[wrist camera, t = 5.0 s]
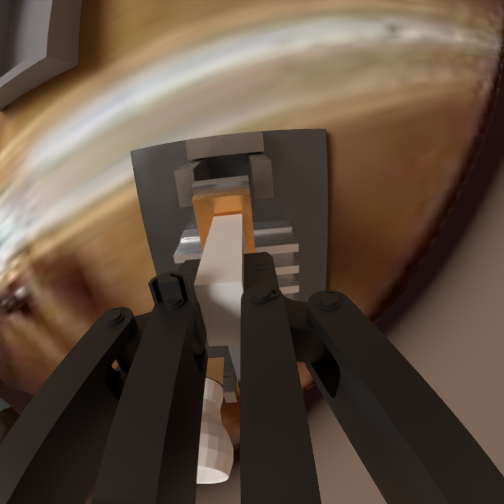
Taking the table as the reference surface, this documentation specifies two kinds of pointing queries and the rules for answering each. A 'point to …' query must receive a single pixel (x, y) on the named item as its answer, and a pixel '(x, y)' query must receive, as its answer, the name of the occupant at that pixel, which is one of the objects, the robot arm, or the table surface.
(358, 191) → the table surface
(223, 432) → the cup
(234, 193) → the strap
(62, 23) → the tray
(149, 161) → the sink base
